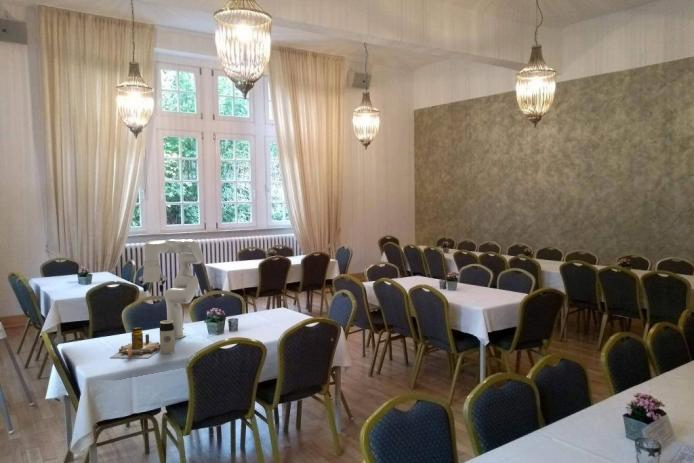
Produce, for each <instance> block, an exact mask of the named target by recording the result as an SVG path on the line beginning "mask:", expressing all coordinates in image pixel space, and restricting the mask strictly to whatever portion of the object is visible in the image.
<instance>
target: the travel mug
mask: <svg viewBox="0 0 694 463" xmlns="http://www.w3.org/2000/svg"><path fill="white" fill-rule="evenodd" d="M159 324H160V326H159V344H160V350H159V352H160V353H161V354H165V355H167V354H172V353H174V352H175V349H176V348H175V346H176V345H175V339H174V326H173V321H172V320H167V319H166V320H161V321H160V322H159Z"/></svg>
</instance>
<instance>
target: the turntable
mask: <svg viewBox="0 0 694 463" xmlns="http://www.w3.org/2000/svg"><path fill="white" fill-rule="evenodd" d="M144 336H145V341H143V347H144V348H145V349H139V350H132V354H143V353H149V352H150V353H152V352H153V351H155V350H159V351H160V342H158V341H156V342H152V340H151V341H150V334H149V333H145V335H144ZM127 347H132V342H130V343H128V344H125V345H121V346H120V348H118V352H121V354H125V353H126V354H128V348H127Z"/></svg>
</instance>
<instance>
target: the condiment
mask: <svg viewBox="0 0 694 463" xmlns="http://www.w3.org/2000/svg"><path fill="white" fill-rule="evenodd" d="M143 342H144V334H143V328H142V327H141V326H135V327H132V329H131V344H132V347H127V348H132V350H139V349H145V348H144V347H143Z"/></svg>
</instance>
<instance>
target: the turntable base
mask: <svg viewBox="0 0 694 463" xmlns="http://www.w3.org/2000/svg"><path fill="white" fill-rule="evenodd" d="M158 352H160V350H155V351H153V352H152V353H150V352H149V353H143V354H132V348H128V354H126V353H125V354H121V352H119V351H118V352H116V353H115V354H113V355H110V357H109V359H143V360H144V359H150V358H151V357H153V356H154V355H155V354H157V353H158Z"/></svg>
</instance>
